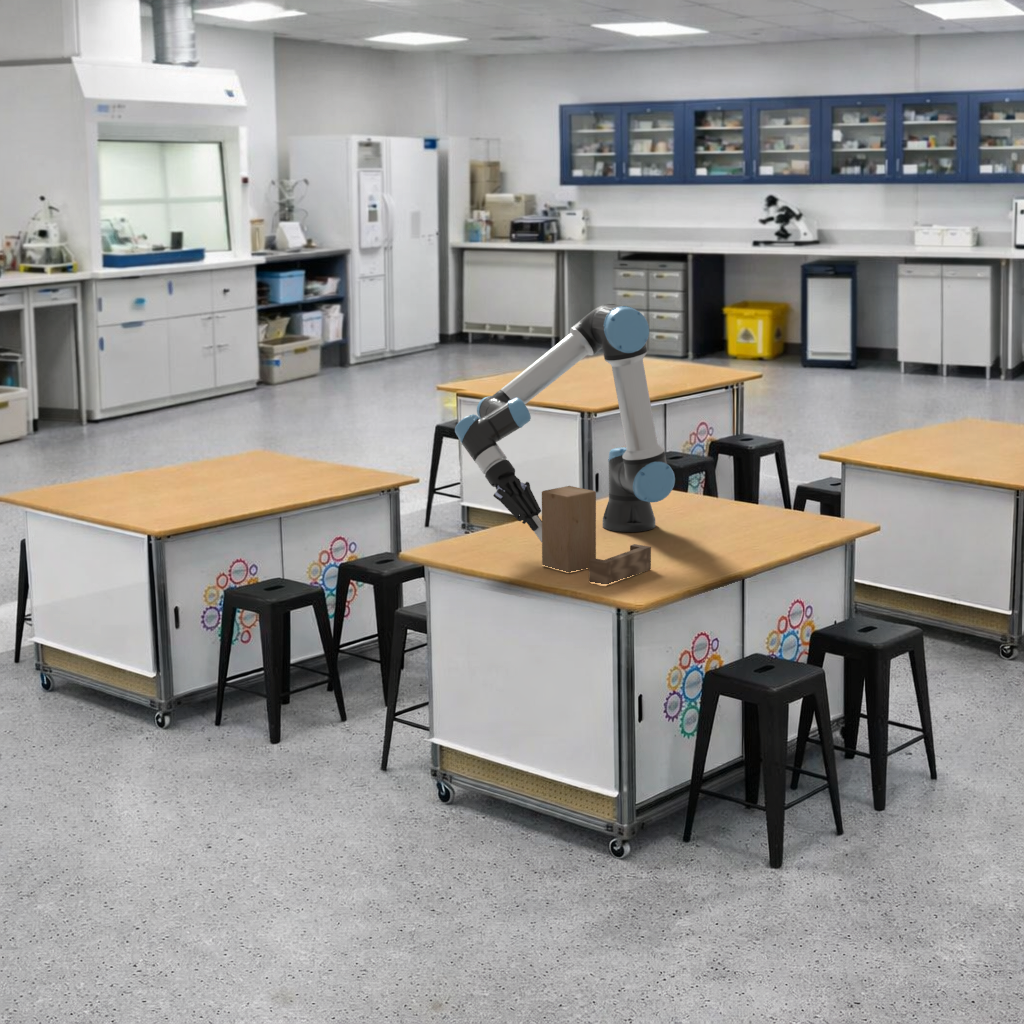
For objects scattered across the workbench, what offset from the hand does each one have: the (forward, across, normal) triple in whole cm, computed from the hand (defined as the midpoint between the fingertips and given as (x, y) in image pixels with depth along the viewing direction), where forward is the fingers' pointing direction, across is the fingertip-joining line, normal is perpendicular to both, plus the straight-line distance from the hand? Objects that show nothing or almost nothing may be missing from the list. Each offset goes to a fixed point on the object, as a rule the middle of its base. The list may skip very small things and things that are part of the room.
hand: (546, 538), depth 371 cm
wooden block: (+10, -1, 0) cm, 10 cm away
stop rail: (+20, -1, +11) cm, 23 cm away
